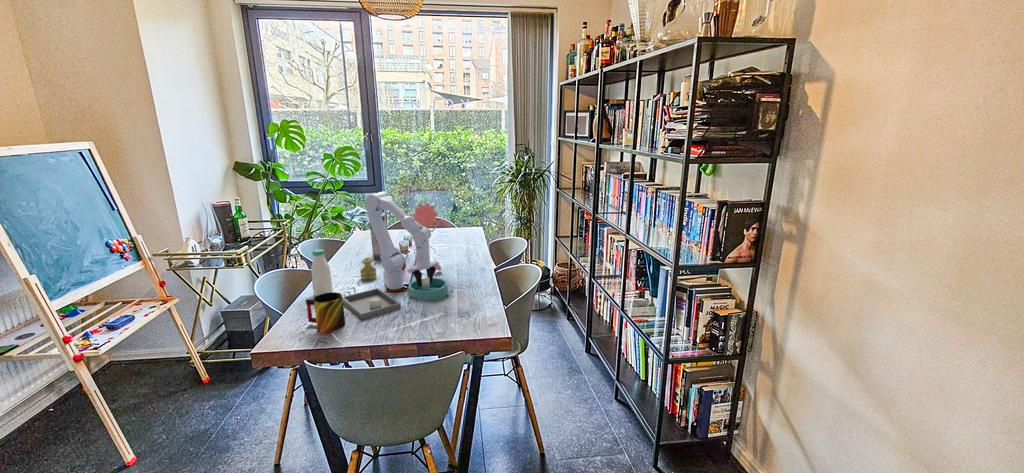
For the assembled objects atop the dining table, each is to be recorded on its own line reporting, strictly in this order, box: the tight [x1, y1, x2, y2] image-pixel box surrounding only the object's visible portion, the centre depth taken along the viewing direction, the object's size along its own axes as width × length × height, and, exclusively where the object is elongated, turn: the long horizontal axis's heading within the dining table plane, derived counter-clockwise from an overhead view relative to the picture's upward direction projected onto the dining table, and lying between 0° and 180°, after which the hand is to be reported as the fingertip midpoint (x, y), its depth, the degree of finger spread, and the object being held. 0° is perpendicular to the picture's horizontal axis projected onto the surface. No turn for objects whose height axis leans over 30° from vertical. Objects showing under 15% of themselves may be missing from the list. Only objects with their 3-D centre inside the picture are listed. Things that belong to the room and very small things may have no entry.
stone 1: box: [369, 298, 381, 311], centre depth 175 cm, size 4×4×4 cm
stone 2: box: [420, 275, 430, 288], centre depth 194 cm, size 4×4×4 cm
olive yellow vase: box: [359, 257, 377, 282], centre depth 211 cm, size 7×7×10 cm
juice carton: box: [369, 211, 388, 260], centre depth 245 cm, size 12×8×24 cm, turn 10°
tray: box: [342, 287, 402, 321], centre depth 179 cm, size 22×16×3 cm
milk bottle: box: [310, 248, 334, 297], centre depth 191 cm, size 8×8×20 cm
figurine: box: [405, 202, 451, 276], centre depth 219 cm, size 15×26×35 cm, turn 82°
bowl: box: [407, 277, 449, 302], centre depth 192 cm, size 17×17×4 cm
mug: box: [305, 291, 346, 335], centre depth 160 cm, size 10×14×12 cm
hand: (424, 284), depth 194 cm, fingers closed on stone 2, 4 cm apart
